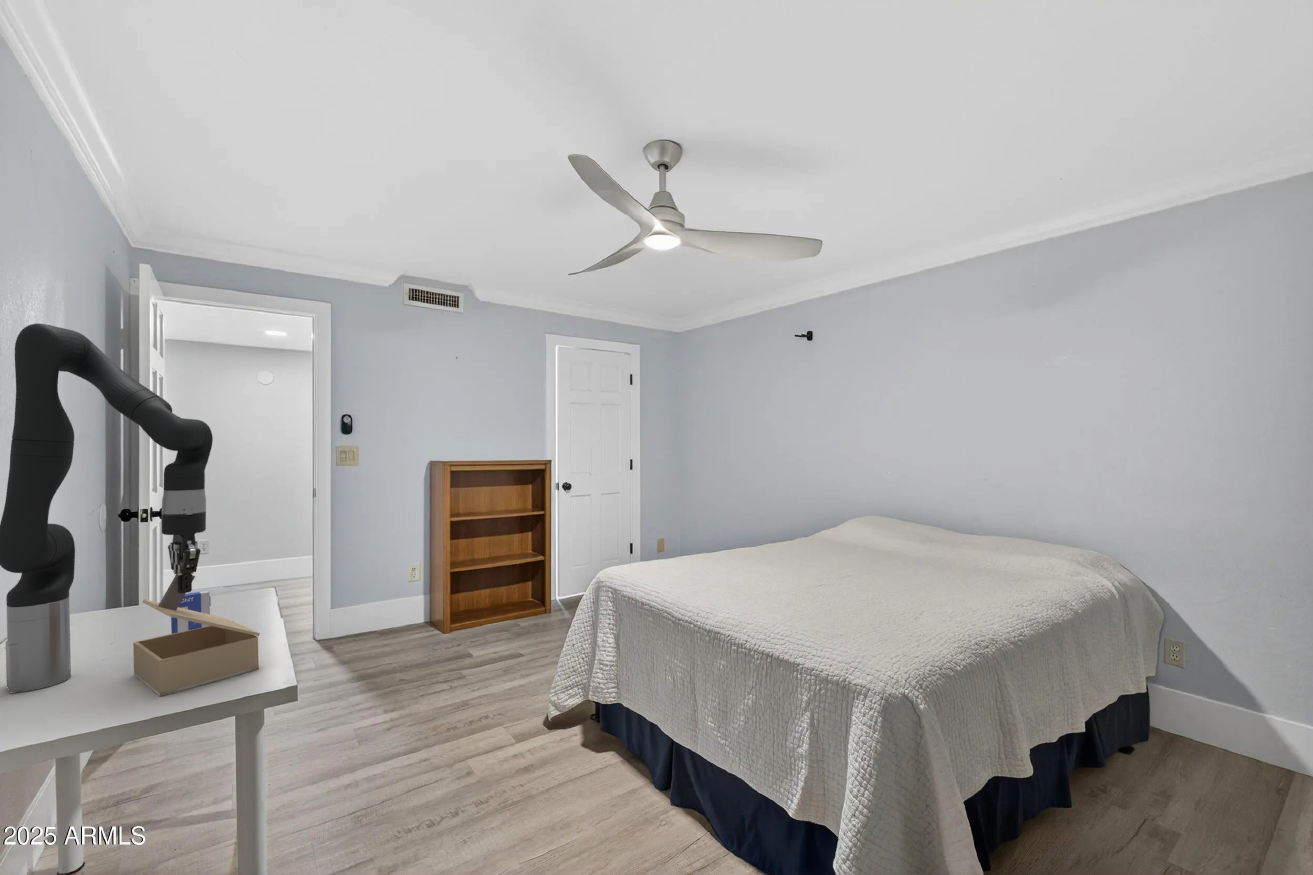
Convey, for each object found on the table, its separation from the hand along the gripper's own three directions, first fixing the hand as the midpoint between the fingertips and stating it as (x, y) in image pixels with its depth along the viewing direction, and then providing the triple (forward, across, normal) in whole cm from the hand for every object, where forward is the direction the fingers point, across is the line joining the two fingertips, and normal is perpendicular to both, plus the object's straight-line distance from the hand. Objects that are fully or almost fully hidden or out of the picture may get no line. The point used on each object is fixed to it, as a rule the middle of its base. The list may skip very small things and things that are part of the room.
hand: (183, 591), depth 129 cm
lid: (+7, 0, +3) cm, 7 cm away
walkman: (+18, -29, +9) cm, 35 cm away
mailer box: (+18, 0, +2) cm, 18 cm away
